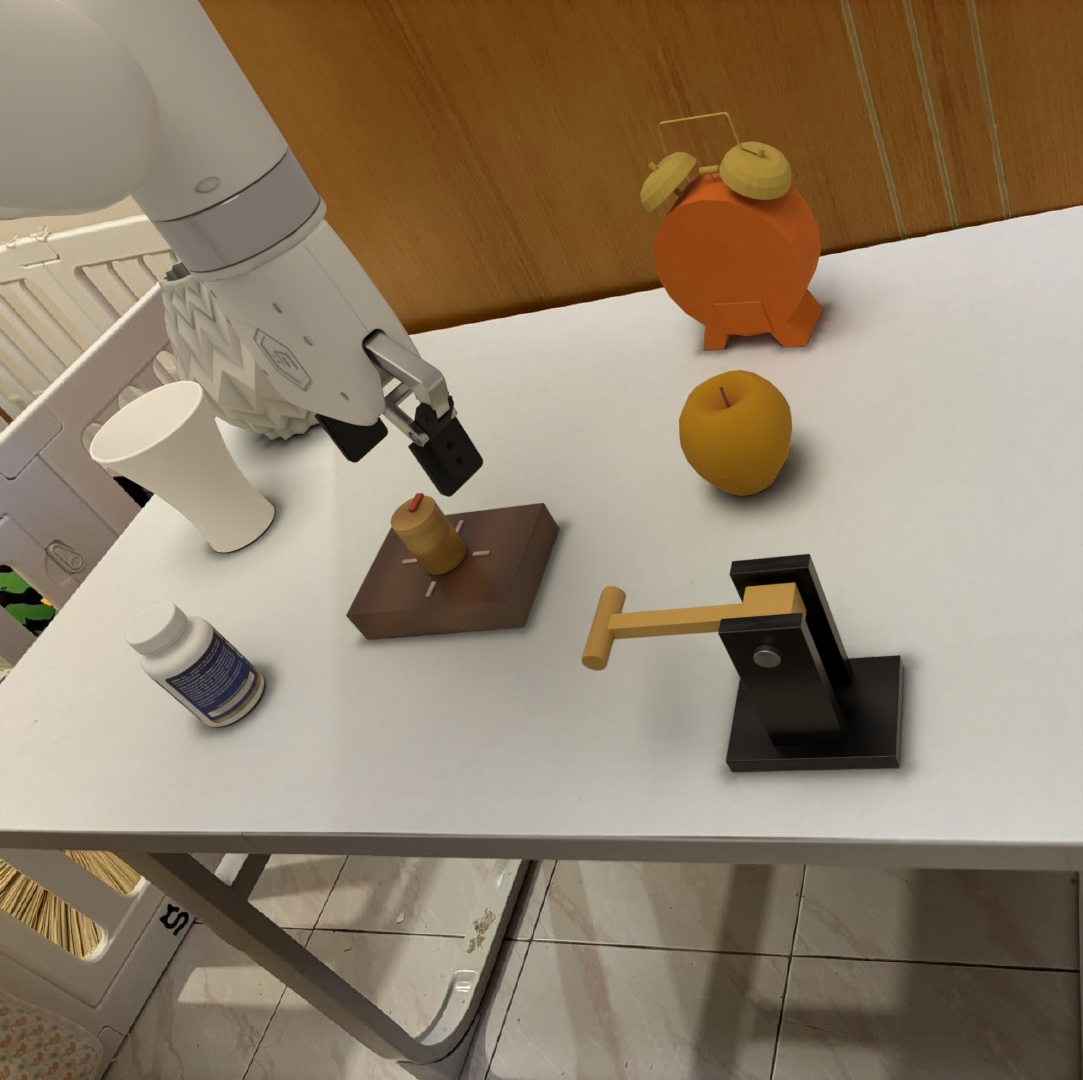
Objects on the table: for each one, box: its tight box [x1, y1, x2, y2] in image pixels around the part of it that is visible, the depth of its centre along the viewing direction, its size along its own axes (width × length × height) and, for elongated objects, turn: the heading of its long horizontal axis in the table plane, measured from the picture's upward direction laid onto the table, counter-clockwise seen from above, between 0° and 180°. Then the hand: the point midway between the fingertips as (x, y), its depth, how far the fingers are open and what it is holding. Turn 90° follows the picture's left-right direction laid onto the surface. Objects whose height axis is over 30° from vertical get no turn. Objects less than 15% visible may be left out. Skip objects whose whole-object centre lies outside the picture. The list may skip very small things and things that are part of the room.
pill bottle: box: [124, 600, 265, 728], centre depth 75 cm, size 5×5×10 cm
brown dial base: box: [345, 502, 560, 640], centre depth 79 cm, size 14×10×3 cm
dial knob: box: [390, 492, 467, 575], centre depth 76 cm, size 4×4×5 cm
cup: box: [89, 381, 276, 553], centre depth 91 cm, size 10×10×14 cm
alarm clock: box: [639, 111, 824, 351], centre depth 85 cm, size 13×6×20 cm, turn 69°
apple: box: [678, 369, 793, 497], centre depth 75 cm, size 8×8×9 cm
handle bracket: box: [717, 553, 905, 773], centre depth 57 cm, size 10×7×12 cm
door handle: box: [581, 583, 806, 672], centre depth 56 cm, size 12×5×2 cm, turn 81°
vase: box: [157, 259, 320, 441], centre depth 101 cm, size 16×16×18 cm
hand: (415, 463), depth 62 cm, fingers open, 9 cm apart
